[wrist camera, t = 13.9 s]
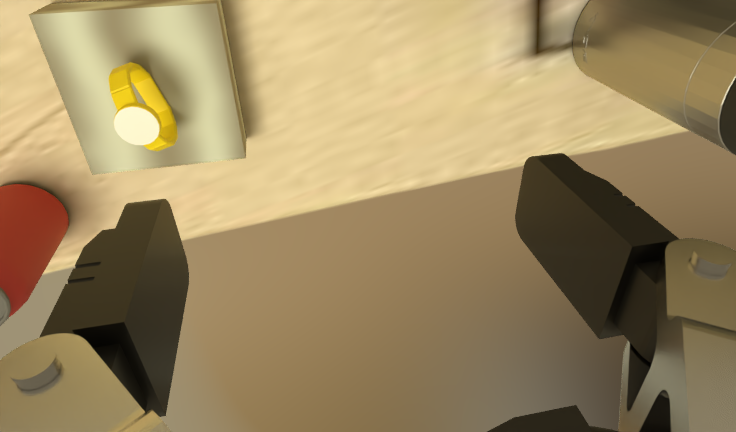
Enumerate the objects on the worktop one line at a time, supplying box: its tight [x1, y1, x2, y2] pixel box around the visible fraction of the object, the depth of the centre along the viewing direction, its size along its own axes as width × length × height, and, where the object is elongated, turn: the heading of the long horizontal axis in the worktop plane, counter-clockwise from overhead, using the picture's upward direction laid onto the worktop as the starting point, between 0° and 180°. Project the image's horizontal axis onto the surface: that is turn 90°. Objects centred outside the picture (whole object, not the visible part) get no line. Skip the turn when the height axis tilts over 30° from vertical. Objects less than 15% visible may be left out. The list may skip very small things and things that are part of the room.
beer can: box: [0, 184, 69, 326], centre depth 38 cm, size 7×7×12 cm
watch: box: [108, 62, 178, 151], centre depth 33 cm, size 6×3×6 cm, turn 18°
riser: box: [29, 0, 246, 175], centre depth 37 cm, size 12×12×4 cm
